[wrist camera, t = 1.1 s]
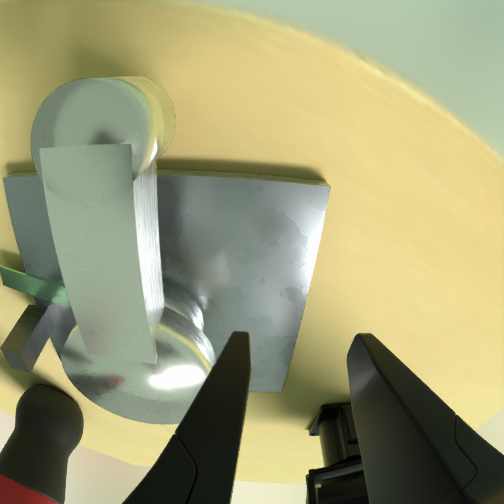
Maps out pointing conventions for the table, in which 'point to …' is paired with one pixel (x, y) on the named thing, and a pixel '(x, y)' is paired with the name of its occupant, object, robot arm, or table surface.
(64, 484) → the cola bottle
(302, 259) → the plate
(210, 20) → the table surface
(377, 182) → the table surface
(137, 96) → the elbow
